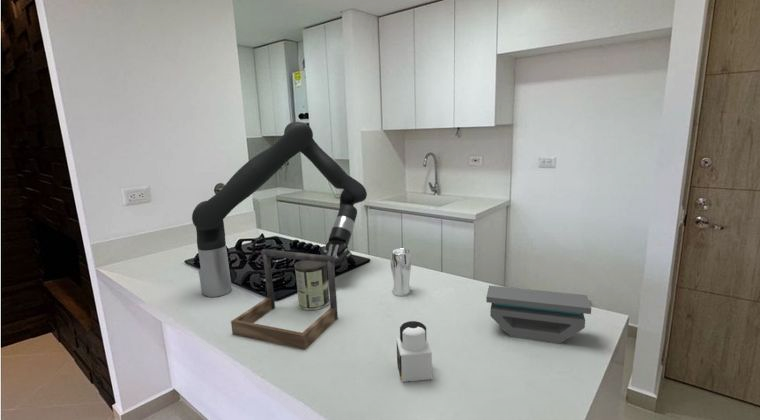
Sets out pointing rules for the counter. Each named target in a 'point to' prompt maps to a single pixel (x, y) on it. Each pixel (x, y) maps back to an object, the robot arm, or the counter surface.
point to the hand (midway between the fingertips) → (327, 273)
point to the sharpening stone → (538, 313)
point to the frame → (271, 334)
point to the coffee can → (312, 284)
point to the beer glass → (401, 271)
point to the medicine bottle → (413, 353)
